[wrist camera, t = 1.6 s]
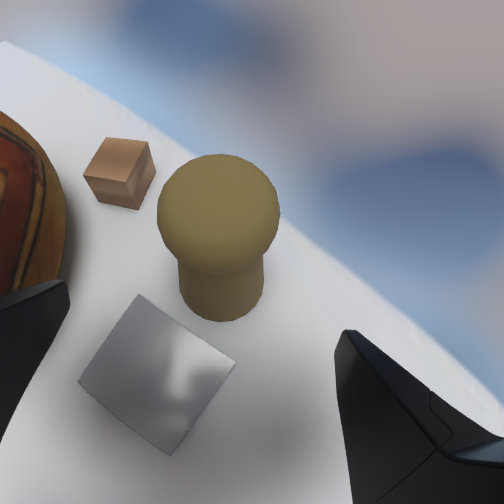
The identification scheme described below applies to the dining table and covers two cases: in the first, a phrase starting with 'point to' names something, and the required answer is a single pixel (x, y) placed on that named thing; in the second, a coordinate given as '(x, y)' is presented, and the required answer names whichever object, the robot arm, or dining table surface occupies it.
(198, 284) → the cork
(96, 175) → the walnut block
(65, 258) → the dining table surface
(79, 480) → the dining table surface
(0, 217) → the ceramic pitcher
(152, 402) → the coaster
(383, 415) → the robot arm
